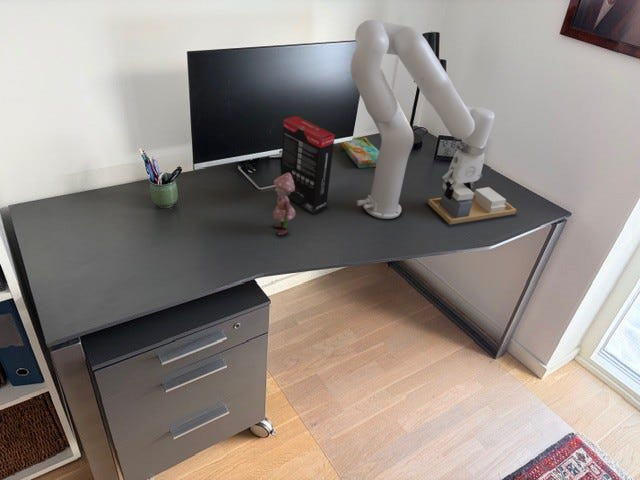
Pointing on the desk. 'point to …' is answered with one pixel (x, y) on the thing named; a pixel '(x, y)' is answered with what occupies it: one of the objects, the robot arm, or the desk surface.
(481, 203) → the white book
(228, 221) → the desk surface
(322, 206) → the graphics card box
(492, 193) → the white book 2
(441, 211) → the desk tray
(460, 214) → the blue-gray box
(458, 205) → the grey book
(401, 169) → the robot arm
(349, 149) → the puzzle game
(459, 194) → the white rectangular lid
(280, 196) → the cartoon character
